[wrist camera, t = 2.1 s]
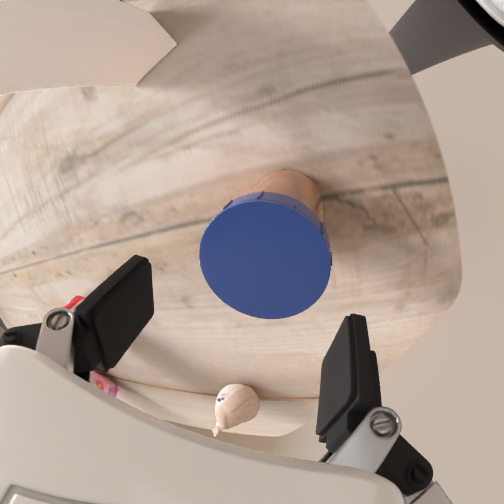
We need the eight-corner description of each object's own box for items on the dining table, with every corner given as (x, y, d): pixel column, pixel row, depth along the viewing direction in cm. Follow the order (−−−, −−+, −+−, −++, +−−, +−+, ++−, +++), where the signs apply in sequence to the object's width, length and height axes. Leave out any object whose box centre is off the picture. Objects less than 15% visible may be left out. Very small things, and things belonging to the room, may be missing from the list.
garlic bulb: (214, 375, 36) (194, 419, 29) (255, 375, 34) (240, 424, 27) (230, 400, 39) (215, 441, 32) (268, 401, 37) (257, 446, 30)
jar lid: (217, 179, 14) (204, 188, 12) (345, 209, 13) (348, 222, 12) (207, 283, 17) (196, 300, 16) (311, 311, 16) (308, 331, 15)
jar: (258, 162, 22) (213, 194, 13) (330, 179, 21) (338, 224, 12) (247, 228, 25) (205, 293, 16) (312, 244, 24) (305, 320, 15)
